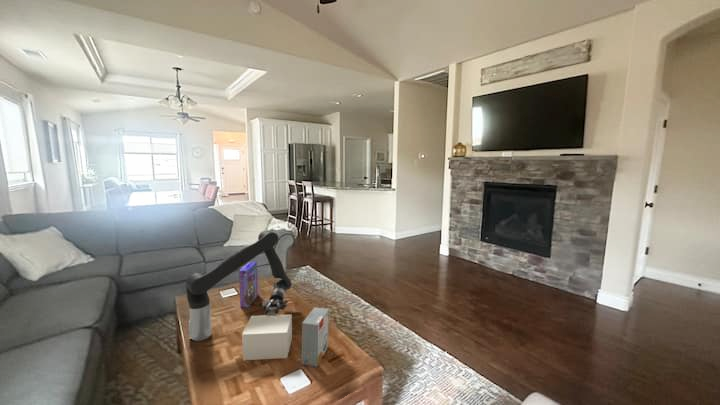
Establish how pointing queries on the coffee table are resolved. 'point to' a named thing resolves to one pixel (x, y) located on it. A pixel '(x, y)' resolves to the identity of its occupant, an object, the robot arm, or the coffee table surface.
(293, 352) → the coffee table surface
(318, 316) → the hard drive box
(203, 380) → the coffee table surface
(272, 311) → the flap
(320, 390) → the coffee table surface
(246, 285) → the cereal box
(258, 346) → the carton
